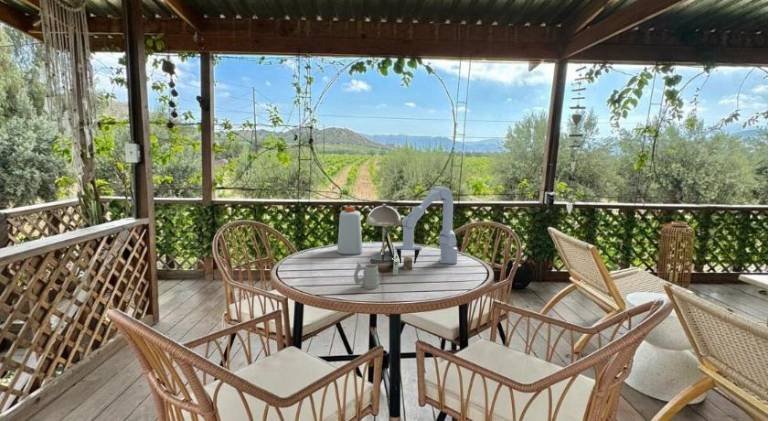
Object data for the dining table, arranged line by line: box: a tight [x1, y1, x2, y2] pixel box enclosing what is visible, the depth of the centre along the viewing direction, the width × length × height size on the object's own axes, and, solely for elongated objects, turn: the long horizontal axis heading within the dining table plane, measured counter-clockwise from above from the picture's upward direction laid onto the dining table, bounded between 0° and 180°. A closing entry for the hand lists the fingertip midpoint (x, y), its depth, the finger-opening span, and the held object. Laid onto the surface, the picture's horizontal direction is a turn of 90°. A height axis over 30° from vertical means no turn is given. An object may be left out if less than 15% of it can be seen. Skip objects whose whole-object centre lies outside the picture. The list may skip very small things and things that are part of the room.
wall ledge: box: [392, 254, 400, 276], centre depth 205 cm, size 2×26×5 cm, turn 177°
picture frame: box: [379, 227, 395, 259], centre depth 227 cm, size 23×9×15 cm, turn 179°
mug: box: [353, 261, 380, 290], centre depth 175 cm, size 8×12×12 cm, turn 99°
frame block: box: [403, 256, 413, 271], centre depth 205 cm, size 5×8×5 cm, turn 177°
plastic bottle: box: [337, 206, 363, 256], centre depth 232 cm, size 15×15×28 cm
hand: (407, 263), depth 205 cm, fingers open, 7 cm apart
